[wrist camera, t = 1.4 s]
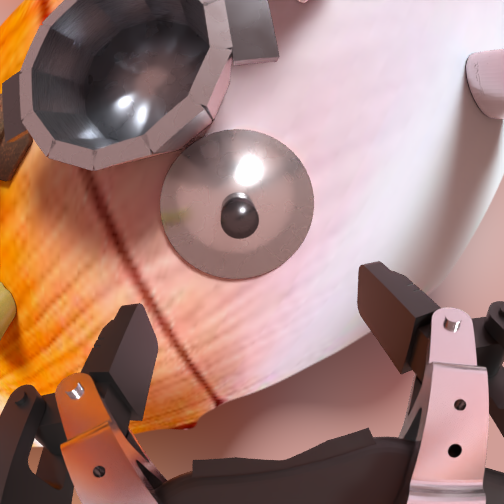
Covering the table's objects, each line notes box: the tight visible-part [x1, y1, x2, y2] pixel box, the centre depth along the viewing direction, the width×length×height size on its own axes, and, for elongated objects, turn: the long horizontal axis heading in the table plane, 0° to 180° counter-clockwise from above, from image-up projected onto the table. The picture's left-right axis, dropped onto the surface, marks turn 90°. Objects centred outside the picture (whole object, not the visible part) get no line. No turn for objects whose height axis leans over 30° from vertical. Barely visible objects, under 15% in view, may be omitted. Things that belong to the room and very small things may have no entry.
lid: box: [160, 129, 314, 279], centre depth 23 cm, size 14×14×5 cm
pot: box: [2, 0, 279, 171], centre depth 15 cm, size 19×14×9 cm
